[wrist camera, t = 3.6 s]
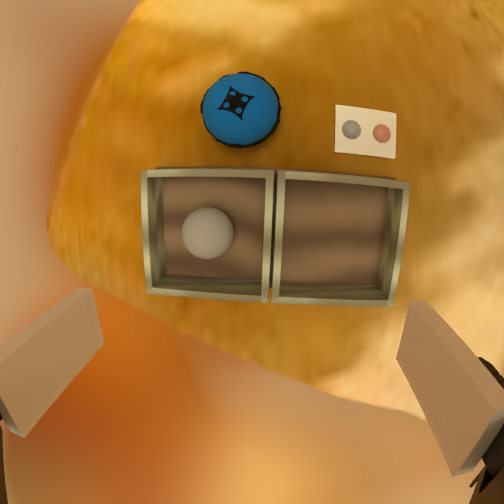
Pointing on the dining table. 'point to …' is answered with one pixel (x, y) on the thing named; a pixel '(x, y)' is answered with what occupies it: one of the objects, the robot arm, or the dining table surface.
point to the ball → (207, 232)
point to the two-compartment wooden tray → (277, 235)
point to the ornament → (241, 109)
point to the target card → (365, 131)
